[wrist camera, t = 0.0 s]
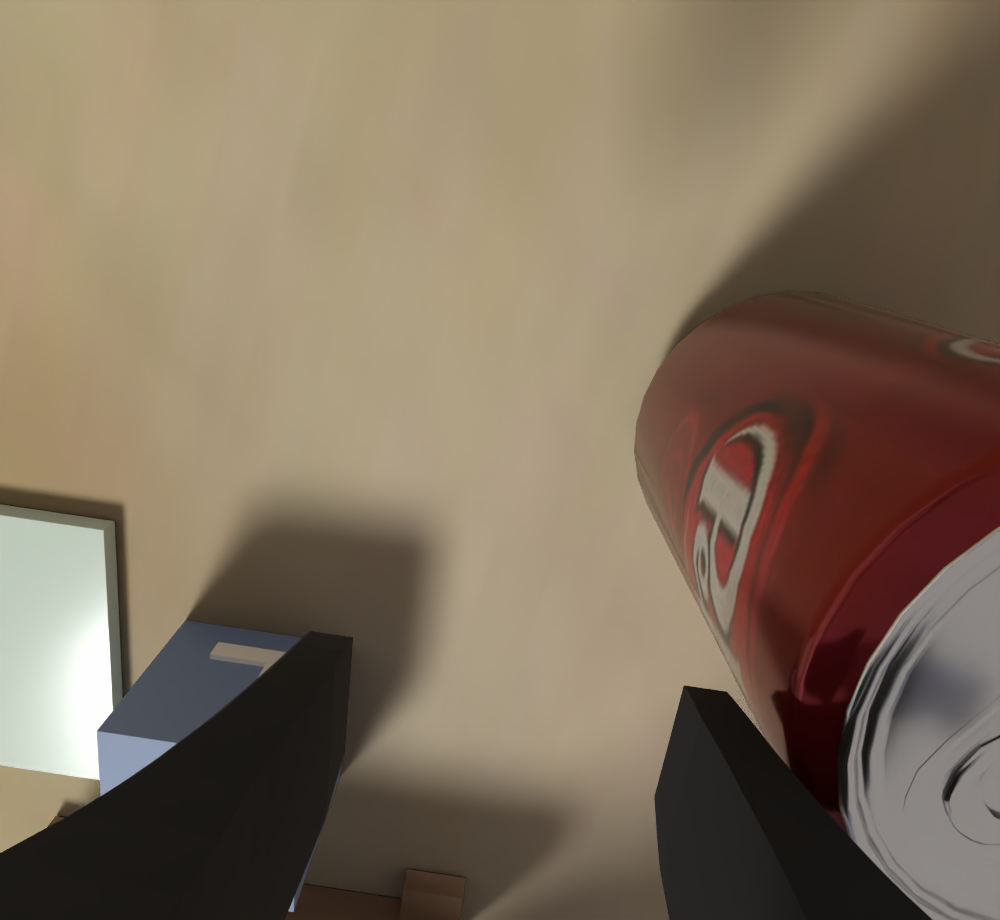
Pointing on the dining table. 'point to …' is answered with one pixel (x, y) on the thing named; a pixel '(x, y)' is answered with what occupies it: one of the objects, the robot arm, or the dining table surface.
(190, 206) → the dining table surface
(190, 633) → the cube
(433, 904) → the brown wooden bar
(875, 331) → the soda can
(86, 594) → the tile
